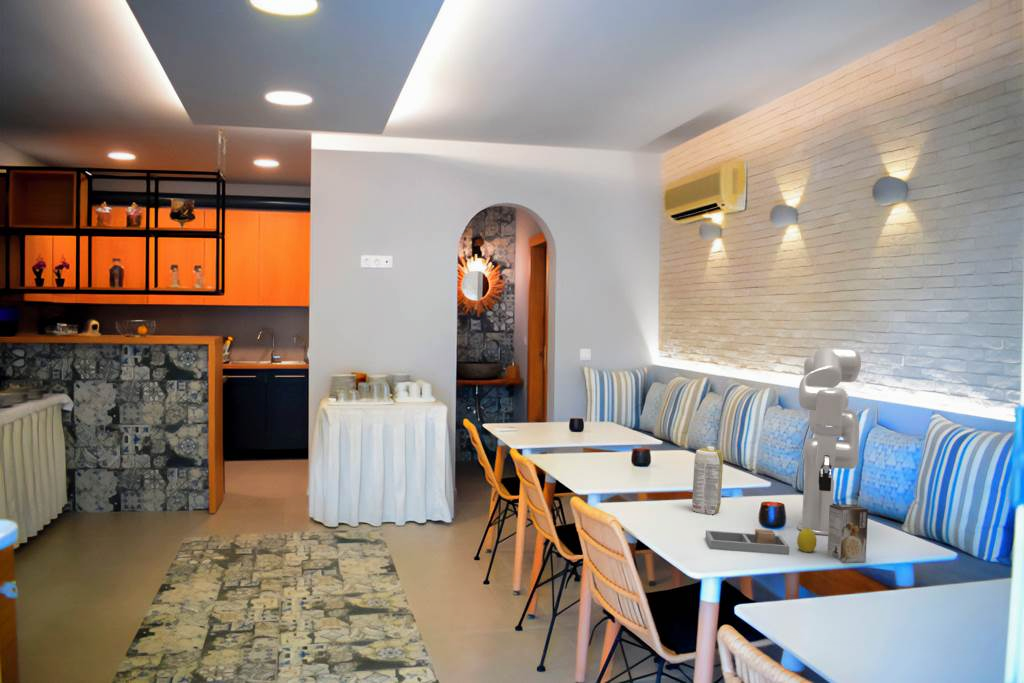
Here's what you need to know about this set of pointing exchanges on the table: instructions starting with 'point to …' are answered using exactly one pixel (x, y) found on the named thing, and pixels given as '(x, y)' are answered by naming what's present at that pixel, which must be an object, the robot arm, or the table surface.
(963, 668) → the table surface
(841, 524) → the coffee box
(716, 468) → the juice carton
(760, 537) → the walnut block
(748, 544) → the slot tray
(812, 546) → the lemon
